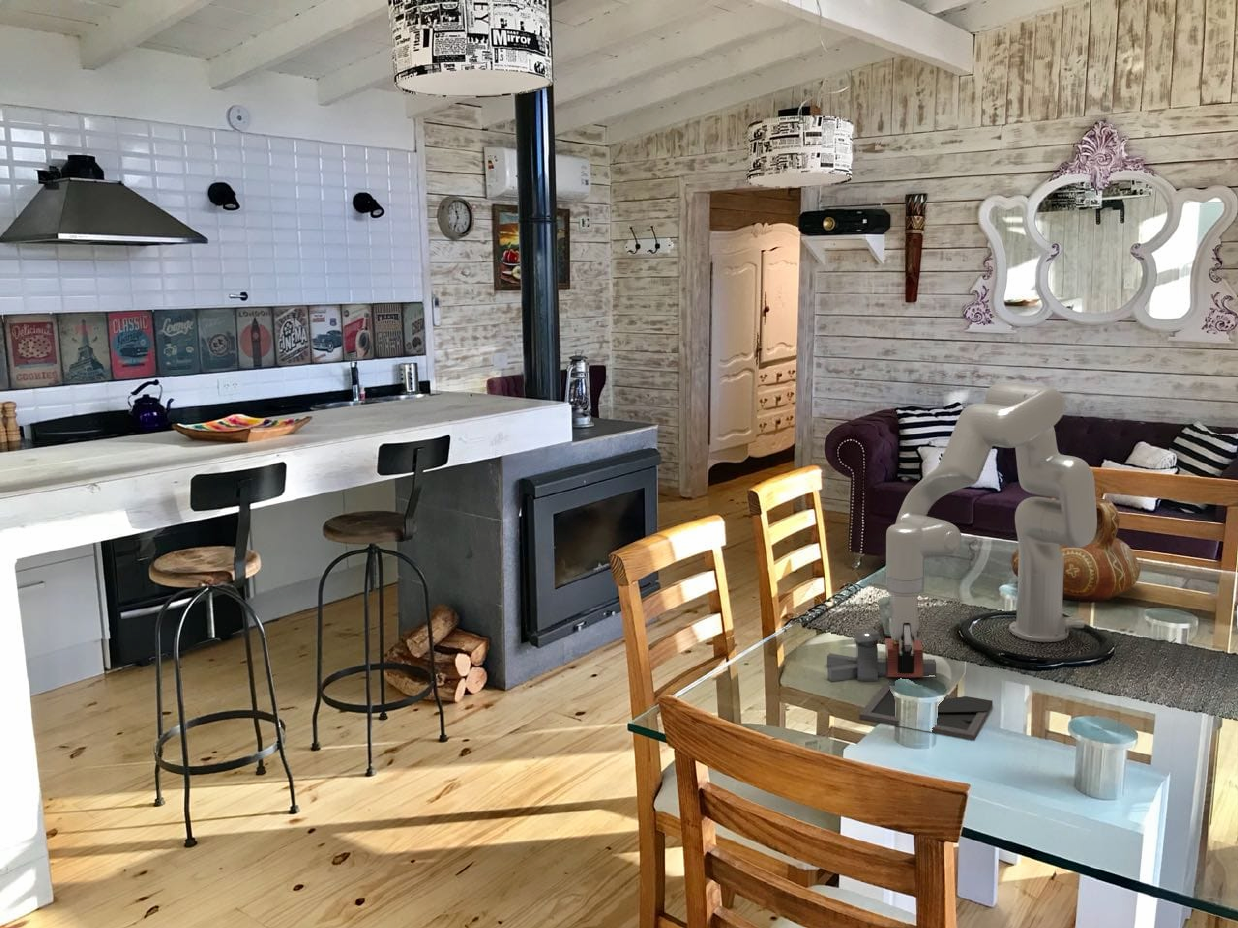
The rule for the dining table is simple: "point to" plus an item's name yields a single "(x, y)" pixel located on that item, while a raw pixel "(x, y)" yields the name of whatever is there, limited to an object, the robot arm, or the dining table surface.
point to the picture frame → (953, 713)
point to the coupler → (865, 660)
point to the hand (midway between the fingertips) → (904, 665)
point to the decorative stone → (886, 614)
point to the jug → (1097, 562)
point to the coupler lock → (892, 658)
